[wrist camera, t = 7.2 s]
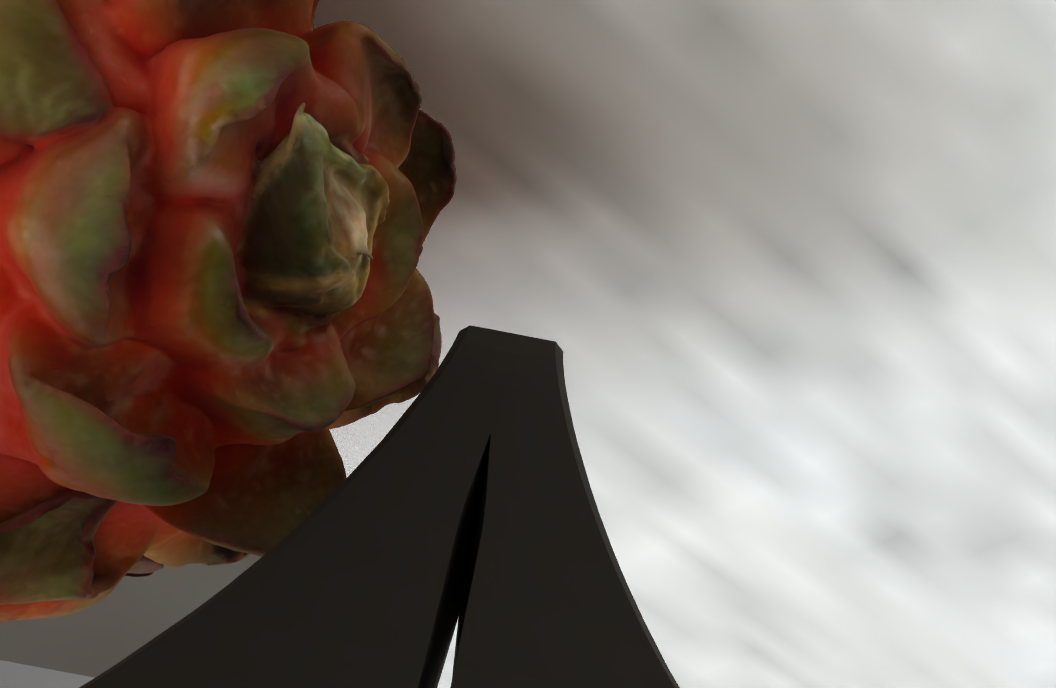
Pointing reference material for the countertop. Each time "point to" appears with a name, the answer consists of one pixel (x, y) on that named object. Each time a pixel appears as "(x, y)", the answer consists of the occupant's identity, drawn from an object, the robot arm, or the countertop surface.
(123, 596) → the box
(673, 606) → the countertop surface
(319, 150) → the dragon fruit
